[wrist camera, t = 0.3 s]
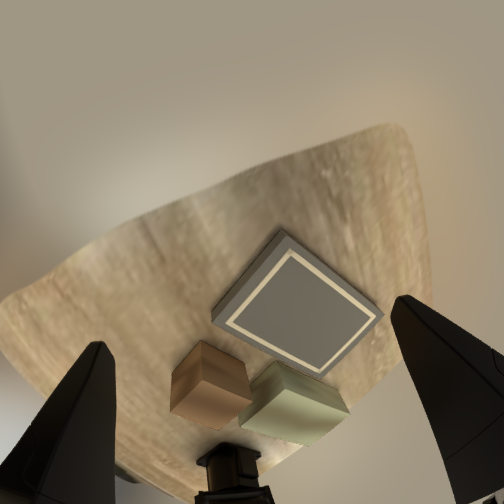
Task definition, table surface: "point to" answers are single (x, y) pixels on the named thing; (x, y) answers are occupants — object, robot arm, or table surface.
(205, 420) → the walnut cube
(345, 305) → the plinth
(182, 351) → the table surface
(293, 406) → the sage block
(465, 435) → the robot arm
